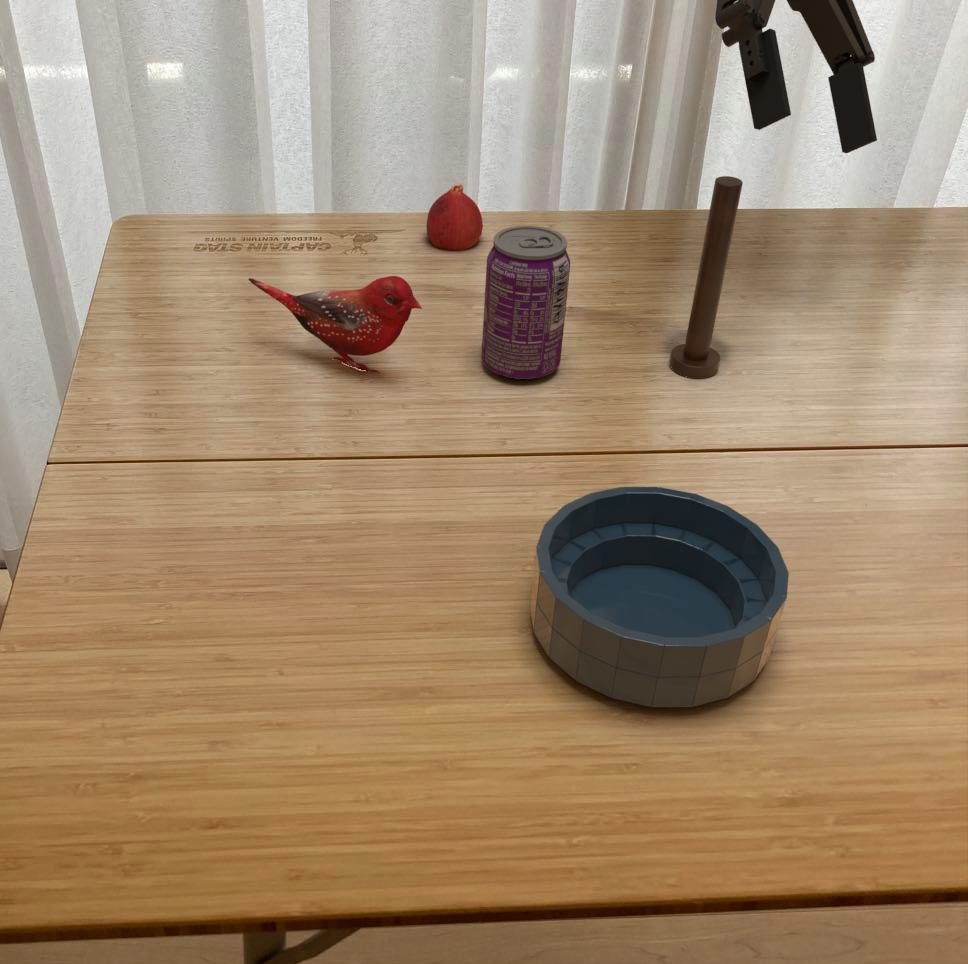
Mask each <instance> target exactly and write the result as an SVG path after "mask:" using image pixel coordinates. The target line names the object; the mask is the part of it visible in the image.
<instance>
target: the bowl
mask: <svg viewBox="0 0 968 964" xmlns="http://www.w3.org/2000/svg"><path fill="white" fill-rule="evenodd" d="M789 573H790V572H789V570H788V567H787V565H786V562H785V560H784V558H783V555H782V553H781V550H780V548H779V546H778V545H777V544H776V543H775V542H774V541H773V540H772V539H771V538H770V537H769V536H768V535H767V534H766V532H765V531H764V530H763V529H762V528H761V527H760V526H759V525H758V524H757V523H756V522H754V521H753V520H750V519H749V518H748V517H746V516H745V515H743V514H742V513H739V512H738V511H736V510H735V509H734V508H732V507H731V506H728V505H726V504H723V503H721V502H719V501H716V500H714V499H711V498H708V497H705V496H703V495H700V494H698V493H693V492H689V491H683V490H677V489H672V488H667V487H661V486H620V487H614V488H609V489H604V490H597V491H594V492H590V493H587V494H585V495H583V496H581V497H579V498H577V499H575V500H573V501H569V502H568V503H566V504H564V505H563V506H561V508H559V509H558V510H557V511H556V513H555V514H553V516H551V517H550V518H549V519H548V520H547V522H545V524H544V525H543V528H542V529H541V532H540V535H539V538H538V541H537V544H536V546H535V555H534V565H533V575H532V584H531V594H530V595H531V596H530V603H529V605H530V606H529V609H530V616H531V622H532V625H531V626H532V631H533V633H534V636H535V637H536V639H537V640H538V642H539V643H540V645H541V647H542V649H543V651H544V652H545V654H546V655H547V657H548V658H549V659H550V661H552V662H553V663H554V664H556V665H557V666H558V667H559V668H560V669H562V671H564V672H565V673H566V674H567V675H568V676H569V677H571V678H572V679H573V680H574V681H575V682H577V683H580V684H582V685H583V686H586V687H588V688H590V689H592V690H593V691H596V692H598V693H600V694H602V695H603V696H605V697H608V698H611V699H614V700H619V701H622V702H627V703H631V704H637V705H640V706H645V707H649V708H651V707H652V708H694V707H698V706H702V705H705V704H709V703H712V702H717V701H720V700H725V699H727V698H729V697H731V696H732V695H734V694H736V693H737V692H738V691H740V690H742V689H743V688H745V687H746V686H748V685H749V684H751V683H753V682H754V681H756V678H757V677H758V676H759V674H760V673H761V671H762V669H763V668H764V666H765V665H766V663H767V662H768V660H769V659H770V656H771V653H772V649H773V645H774V643H775V639H776V637H777V633H778V628H779V626H780V622H781V619H782V616H783V611H784V608H785V605H786V601H787V599H788V588H789V577H790V574H789Z"/></svg>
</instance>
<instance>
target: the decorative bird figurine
mask: <svg viewBox="0 0 968 964" xmlns="http://www.w3.org/2000/svg"><path fill="white" fill-rule="evenodd" d="M248 281H249V282H250V283H251V284H252V285H253V286H255V287H256V288H258V289H259V290H260V291H262V292H264V293H265V294H267V296H270V297H271V298H272V299H275V300H276V301H277V302H279V303H280V304H282V305H283V307H285V308H286V309H287V310H288V311H289V312H290V313H291V314H292V315H293V316H294V318H295V319H296V320H297V322H298V323H299V324H300V325H301V327H302V328H303V329H304V330H305V331H306V332H307V333H310V334H311V335H312V336H314V337H315V338H317V339H318V340H319V341H320V342H322V343H324V344H325V346H327V347H329V348H330V349H332V350H333V351H334V352H335V353H336V354H337V355H339V356H334V357H332V358H333V359H337V360H336V361H338V360H339V362H343V363H345V364H347V365H349V366H352V367H356V368H358V369H361V370H366V371H367V372H368V371H370V372H369V373H375V374H379V375H380V374H381V371H379V370H376V369H372V368H369V367H368V366H366V364H363V363H360V362H357V361H355V360H354V359H353V358H352V357H351V356H354V357H355V356H358V357H366V356H371V355H375V354H378V353H380V352H383V351H385V350H386V349H387V348H389V347H391V346H392V345H393V344H394V343H395V342H396V340H397V339H398V338H399V337H400V336H401V334H402V331H403V329H404V327H405V325H406V323H407V322H409V319H410V316H411V314H412V309H420V310H423V308H422V306H421V304H420V302H419V301H418V300H417V298H416V297H415V295H414V292H413V289H412V287H411V285H410V284H409V282H408V281H407V280H406V279H404V278H402V277H401V276H397V275H390V276H389V275H388V276H384V277H380V278H377V279H374V280H373V281H371V282H370V283H368V284H367V285H366V286H364V287H362V288H358V289H348V290H347V289H345V290H344V289H339V290H337V289H330V290H319V291H313V292H308V293H307V292H306V293H303V294H299V295H294V294H292V293H290V292H289V293H288V292H286V291H284V290H282V289H279V288H277V287H274V286H272V285H270V284H267V283H265V282H262V281H260V280H257V279H255V278H251V277H249V278H248Z"/></svg>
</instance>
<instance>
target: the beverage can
mask: <svg viewBox="0 0 968 964" xmlns="http://www.w3.org/2000/svg"><path fill="white" fill-rule="evenodd" d="M567 246H568V240H567V238H566V237H565V236H564V235H563V234H562V233H561V232H558V231H557V230H553V229H551V228H548V227H544V226H537V225H516V226H509V227H506V228H502V229H501V230H499V231H497V233H495V234H494V236H493V246H492V248H491V249H490V250H489V252H488V255H487V257H486V270H485V286H484V287H485V288H484V303H483V304H484V306H483V322H482V340H481V355H480V357H481V358H480V359H481V361H482V363H483V365H484V366H485V367H486V368H487V369H489V371H491V372H493V373H495V374H497V375H500V376H502V375H503V376H502V377H505V376H506V377H505V378H508V377H509V378H508V379H512V378H514V379H513V380H520V379H526V380H532V379H538V378H543V377H545V376H548V375H550V374H552V373H553V372H555V371H556V370H557V369H558V368H559V367H560V364H561V358H562V350H563V341H564V338H563V337H564V330H565V321H566V319H565V318H566V310H567V301H568V290H569V284H570V283H569V282H570V271H571V260H570V257H569V254H568V252H567Z"/></svg>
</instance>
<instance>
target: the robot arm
mask: <svg viewBox="0 0 968 964" xmlns="http://www.w3.org/2000/svg"><path fill="white" fill-rule="evenodd" d="M786 2H787V4H788V6H789V7H790V9H791V10H792V11H793V12H799V13H800V15H801V17H802V18H803V20H804V22H805V24H806V26H807V29H808V30H809V32H810V33H811V35H812V37H813V39H814V40H815V43H816V44H817V46H818V48H819V50H820V52H821V54H822V55H823V58H824V59H825V61H826V63H827V65H828V67H829V68H830V70H831V72H832V74H831V75H830V76H828V77H827V78H828V84H829V89H830V95H831V101H832V105H833V110H834V115H835V121H836V126H837V131H838V137H839V143H840V148H841V153H844V154H849V153H851V152H854V151H856V150H858V149H860V148H863V147H865V146H868V145H870V144H873V143H875V142H877V141H878V138H877V132H876V127H875V122H874V116H873V112H872V106H871V101H870V96H869V90H868V85H867V80H866V75H865V69H864V67H867V66H868V65H871V64H872V63H874V62H875V59H876V57H875V56H876V55H875V53H874V51H873V48H872V46H871V43H870V40H869V38H868V35H867V33H866V31H865V27H864V26H863V23H862V21H861V18H860V15H859V13H858V10H857V8H856V5H855V2H854V0H786ZM775 3H776V0H716V7H715V16H714V19H715V23H716V26H718V28H719V29H721V30H724V29H725V28H728V29H727V30H725V31H723V32H722V33H721V39H722V43H723V44H724V45H725V46H726V47H727V48H730V47H732V46H733V45H735V44H737V43H738V50H739V54H740V55H739V56H740V61H741V66H742V71H743V77H744V82H745V87H746V92H747V98H748V103H749V110H750V114H751V120H752V125H753V128H754V129H755V130H758V131H760V130H763V129H764V128H767V127H768V126H771V125H773V124H775V123H777V122H779V121H781V120H783V119H785V118H787V117H789V116H792V111H791V107H790V100H789V95H788V90H787V84H786V80H785V74H784V70H783V64H782V59H781V54H780V49H779V48H780V47H779V42H778V38H777V37H778V36H777V32H776V30H775V29H772V28H768V29H766V30H764V31H763V29H765V28H766V27H767V26H768V23H769V21H770V18H771V14H772V11H773V10H774V5H775Z"/></svg>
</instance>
